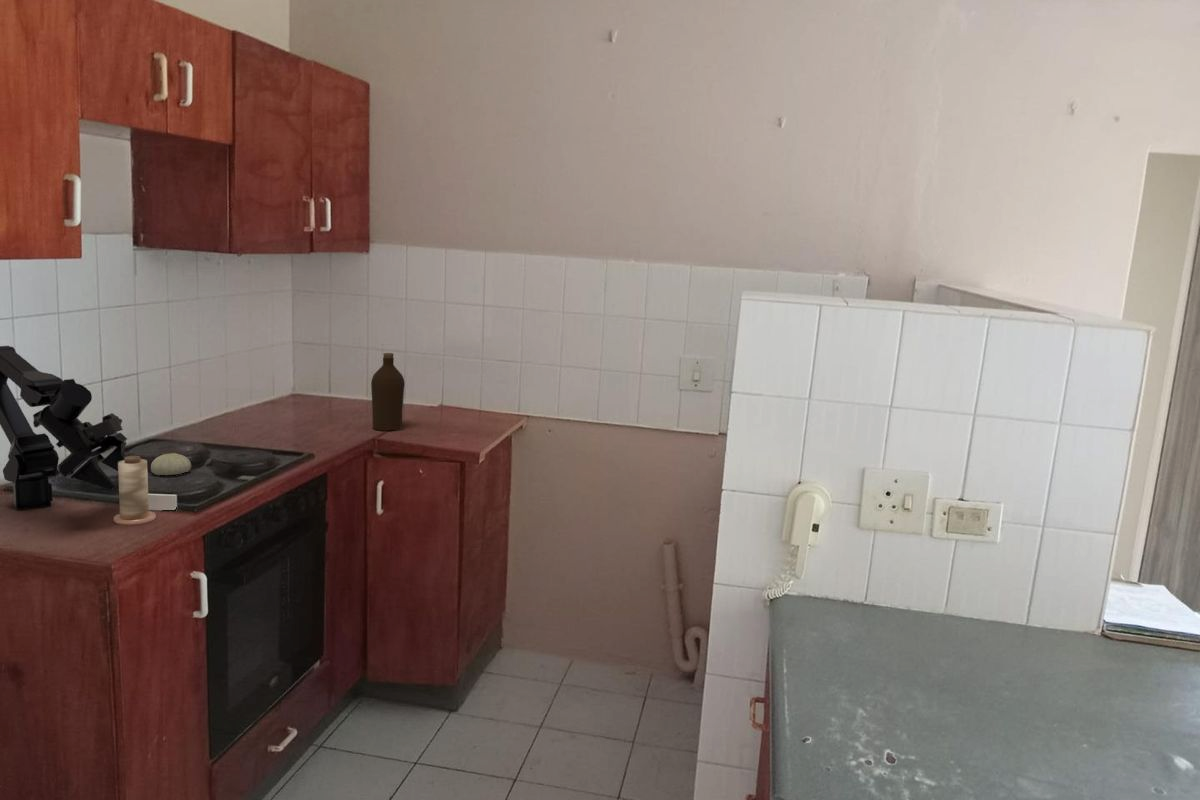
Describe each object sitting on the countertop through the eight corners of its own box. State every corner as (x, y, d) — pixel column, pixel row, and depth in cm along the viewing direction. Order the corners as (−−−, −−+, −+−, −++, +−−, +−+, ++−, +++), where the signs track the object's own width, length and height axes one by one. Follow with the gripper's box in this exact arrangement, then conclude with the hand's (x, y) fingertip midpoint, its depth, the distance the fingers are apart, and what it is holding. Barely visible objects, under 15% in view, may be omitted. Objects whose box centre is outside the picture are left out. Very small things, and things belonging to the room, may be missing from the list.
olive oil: (379, 433, 283) (380, 356, 278) (365, 426, 291) (366, 351, 286) (409, 430, 289) (410, 355, 285) (394, 424, 297) (396, 350, 293)
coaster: (118, 527, 183) (118, 524, 183) (109, 516, 189) (109, 514, 189) (160, 521, 188) (160, 518, 188) (150, 511, 194) (150, 508, 194)
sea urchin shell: (200, 466, 225) (177, 447, 220) (179, 490, 222) (155, 472, 217) (184, 459, 231) (161, 441, 226) (163, 483, 228) (139, 465, 223)
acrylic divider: (129, 509, 194) (128, 494, 194) (131, 508, 195) (130, 493, 195) (175, 510, 195) (175, 495, 194) (177, 509, 196) (176, 494, 195)
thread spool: (123, 521, 185) (121, 461, 182) (117, 514, 189) (115, 456, 186) (151, 517, 188) (149, 458, 186) (145, 510, 192) (143, 453, 190)
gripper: (71, 412, 175) (130, 468, 177) (116, 396, 193) (169, 447, 196) (32, 449, 175) (91, 504, 178) (80, 429, 194) (133, 479, 196)
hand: (123, 482), depth 187 cm, fingers open, 9 cm apart
